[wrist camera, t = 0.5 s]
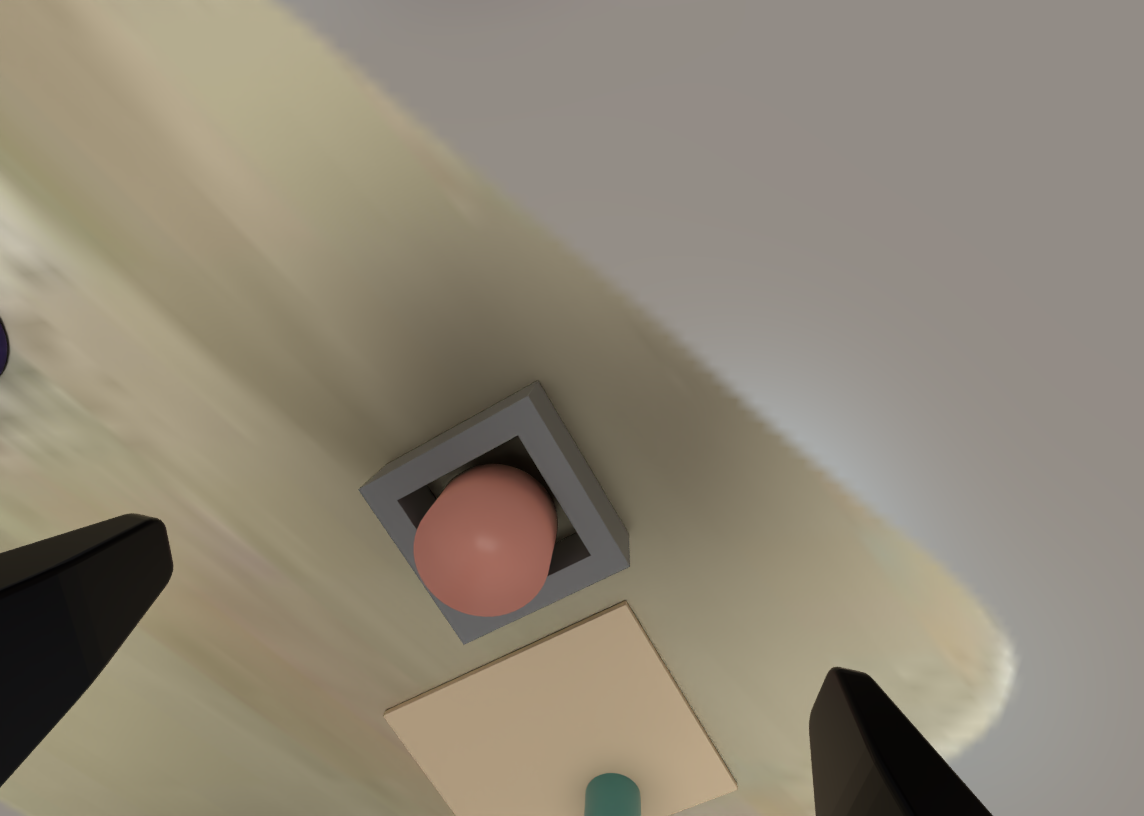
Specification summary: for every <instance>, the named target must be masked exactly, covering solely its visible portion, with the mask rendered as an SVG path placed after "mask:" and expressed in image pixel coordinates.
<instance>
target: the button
mask: <svg viewBox="0 0 1144 816" xmlns="http://www.w3.org/2000/svg"><path fill="white" fill-rule="evenodd" d="M557 529H558V519H557V513H556V509H555V506H554V503H553V501H552V499H551V497H550V495H549V494H548V492H547V491H546V489H545V488H544V487H543V486H542V485H541V484H540V483H539V482H538V481H537V480H536V479H535V478H534V477H532V476H531V475H529V474H528V473H526V472H524V471H522V470H520V469H518V468H515V467H512V466H508V465H503V464H484V465H478V466H475V467H472V468H469V469H467V470H465V471H463V472H462V473H460V474H458V475H457V476H456V477H455V478H454V479H452V480H451V482H450V483H449V484H448V485H447V486H446V487H445V489H444V490H443V492H442V493H441V494H440V496H439V497H438V498H437V500H436V501H435V502H434V504H433V505H432V506H431V508H430V509H429V510H428V512H427V513H426V514H425V516H424V517H423V519H422V520H421V522H420V524H419V526H418V528H417V531H416V534H415V539H414V559H415V564H416V567H417V570H418V573H419V575H420V577H421V579H422V581H423V582H424V584H425V585H426V587H427V588H428V589H429V590H430V592H431V593H432V594H433V595H434V596H435V597H436V598H438V599H439V600H440V601H441V602H443V603H444V604H446V605H447V606H449V607H451V608H453V609H455V610H457V611H460V612H462V613H465V614H469V615H474V616H482V617H493V616H501V615H505V614H509V613H511V612H514V611H516V610H518V609H520V608H522V607H524V606H525V605H526V604H528V603H529V602H530V601H531V600H532V599H533V598H534V597H535V596H536V595H537V594H538V593H539V591H540V590H541V588H542V587H543V585H544V583H545V581H546V578H547V575H548V571H549V567H550V562H551V558H552V553H553V549H554V545H555V540H556V535H557Z"/></svg>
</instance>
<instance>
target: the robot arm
mask: <svg viewBox="0 0 1144 816" xmlns="http://www.w3.org/2000/svg"><path fill="white" fill-rule="evenodd" d="M172 572H173V560H172V555H171V550H170V545H169V540H168V535H167V530H166V527H165V525H164V523H163V522H162V521H161V520H159V519H158V518H154V517H149V516H145V515H140V514H132V513H131V514H125V515H122V516H118V517H115V518H112V519H109V520H106V521H102V522H99V523H96V524H93V525H89V526H86V527H83V528H80V529H77V530H73V531H70V532H67V533H64V534H61V535H57V536H54V537H51V538H48V539H44V540H41V541H38V542H35V543H32V544H28V545H25V546H22V547H19V548H16V549H12V550H9V551H6V552H3V553H0V787H1V786H2V785H3V784H4V783H5V782H6V780H7V779H8V778H9V777H10V776H11V775H12V774H13V773H14V771H15V770H16V769H17V768H18V767H19V766H20V765H21V764H22V762H23V761H24V760H25V759H26V758H27V757H28V756H29V755H30V753H31V752H32V751H33V750H34V749H35V748H36V747H37V746H38V744H39V743H40V742H41V741H42V740H43V739H44V738H45V737H46V735H47V734H48V733H49V732H50V731H51V730H52V729H53V728H54V726H55V725H56V724H57V723H58V722H59V721H60V720H61V719H62V718H63V716H64V715H65V714H66V713H67V712H68V711H69V710H70V709H71V707H72V706H73V705H74V704H75V703H76V702H77V701H78V699H79V698H80V697H81V696H82V695H83V694H84V692H85V691H86V690H87V689H88V688H89V687H90V685H91V684H92V683H93V682H94V680H95V679H96V678H97V677H98V675H99V674H100V673H101V672H102V670H103V669H104V668H105V667H106V665H107V664H108V663H109V661H110V660H111V659H112V657H113V656H114V655H115V653H116V652H117V651H118V649H119V648H120V647H121V645H122V644H123V643H124V641H125V640H126V639H127V637H128V636H129V635H130V633H131V632H132V631H133V629H134V628H135V627H136V625H137V624H138V623H139V621H140V620H141V619H142V617H143V616H144V615H145V613H146V612H147V611H148V609H149V608H150V607H151V605H152V604H153V603H154V601H155V600H156V599H157V597H158V596H159V595H160V593H161V592H162V591H163V589H164V588H165V587H166V585H167V584H168V582H169V580H170V578H171V576H172ZM809 736H810V749H811V761H812V774H813V787H814V800H815V812H816V816H993V815H992V814H991V813H990V812H989V811H988V810H987V809H986V807H985V806H984V805H983V804H982V803H981V802H980V800H979V799H978V798H977V797H976V796H975V795H974V794H973V792H972V791H971V790H970V789H969V788H968V787H967V786H966V784H965V783H964V782H963V781H962V780H961V779H960V778H959V776H958V775H957V774H956V773H955V772H954V771H953V770H952V768H951V767H950V766H949V765H948V764H947V763H946V762H945V760H944V759H943V758H942V757H941V756H940V755H939V754H938V753H937V751H936V750H935V749H934V748H933V747H932V746H931V745H930V743H929V742H928V741H927V740H926V739H925V738H924V737H923V735H922V734H921V733H920V732H919V731H918V730H917V729H916V727H915V726H914V725H913V724H912V723H911V722H910V721H909V719H908V718H907V717H906V716H905V715H904V714H903V713H902V711H901V710H900V709H899V708H898V707H897V706H896V705H895V703H894V702H893V701H892V700H891V699H890V698H889V697H888V696H887V694H886V693H885V692H884V691H883V690H882V689H881V688H880V686H879V685H878V684H877V683H876V682H875V681H874V680H873V679H872V678H871V677H870V676H869V675H868V674H866V673H863V672H860V671H855V670H851V669H846V668H842V667H833V668H832V669H831V670H829V672H828V674H827V675H826V678H825V680H824V682H823V685H822V687H821V689H820V691H819V694H818V696H817V698H816V701H815V703H814V705H813V708H812V710H811V714H810V720H809Z"/></svg>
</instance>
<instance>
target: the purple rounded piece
mask: <svg viewBox="0 0 1144 816" xmlns="http://www.w3.org/2000/svg"><path fill="white" fill-rule="evenodd" d="M6 360H7V341H6V336H5V333H4V330H3V328H2V325H1V323H0V374H1V372H2V371H3V369H4V366H5V363H6Z"/></svg>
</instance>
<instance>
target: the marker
mask: <svg viewBox="0 0 1144 816" xmlns="http://www.w3.org/2000/svg"><path fill="white" fill-rule="evenodd" d="M584 816H641V797H640V791H639V788H638V786H637V785H636V784H635V783H634V781H632V780H631V779H630V778H628V777H626V776H624V775H621V774H617V773H605V774H601V775H599V776H597V777H595V778H594V779H592V780H591V781H590V782H589V784H588V786H587V788H586V794H585V810H584Z"/></svg>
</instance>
